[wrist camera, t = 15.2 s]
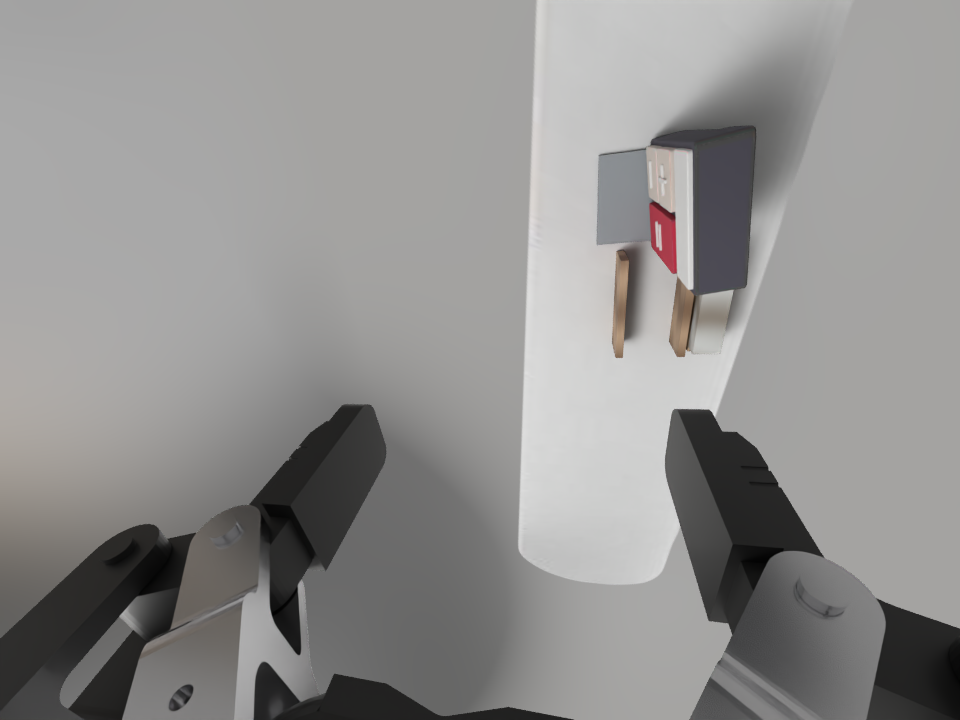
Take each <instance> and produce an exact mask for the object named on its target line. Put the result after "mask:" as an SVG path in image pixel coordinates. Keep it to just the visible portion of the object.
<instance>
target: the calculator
mask: <svg viewBox="0 0 960 720" xmlns="http://www.w3.org/2000/svg"><path fill="white" fill-rule="evenodd" d="M755 143H756V129H755V127H754V126H734V127H728V128H723V129H714V130H685V131H680V132H676V133H673V134H669V135H665V136H662V137H658V138H655V139H652V141H651V146H648V147H646V157H647V175H648V193H649V197H650V198H651V199H653V200H654V202H652V203H649V211H650V229H651V245H652V248H653V249H654V251H655V252H656V253H657V254H658V256H659V257H660V258H661V259H662V261H663V262H664V263H665V265H666V266H667V267H668V268H669V270H670V271H671V272H672V273H673V274H675V273H677V276H678V278H679V279H680V280H681V282H682V283H683V284H684V285H685V286H686V288H687V289H688V290H690V291H691V292H692V293H693V294H694V295H695V296H698V295H704V294H711V293H717V292H723V291H729V290H735V289H741V288H745V287H746V285H747V274H748V258H749V241H750V225H751V209H752V192H753V176H754V159H755Z"/></svg>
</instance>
